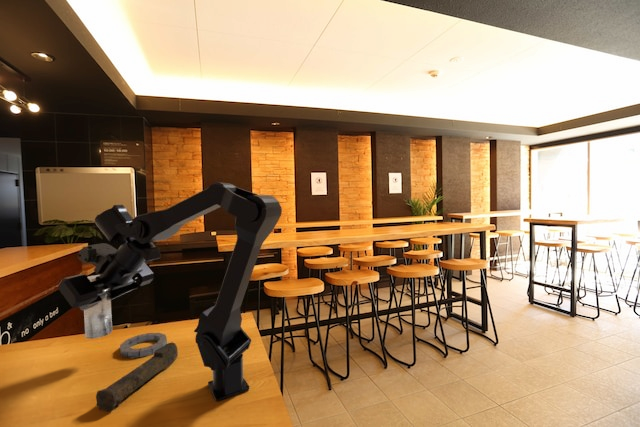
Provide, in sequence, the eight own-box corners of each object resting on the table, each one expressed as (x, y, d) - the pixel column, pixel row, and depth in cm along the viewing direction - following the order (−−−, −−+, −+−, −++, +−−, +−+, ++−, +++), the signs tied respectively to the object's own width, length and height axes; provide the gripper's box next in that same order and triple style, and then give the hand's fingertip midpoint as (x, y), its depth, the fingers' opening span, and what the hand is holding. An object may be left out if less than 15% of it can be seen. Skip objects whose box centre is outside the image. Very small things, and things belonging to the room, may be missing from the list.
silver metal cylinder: (112, 334, 69) (109, 277, 69) (84, 340, 67) (81, 281, 66) (112, 327, 74) (109, 273, 73) (86, 332, 71) (83, 276, 70)
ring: (169, 350, 76) (168, 344, 76) (120, 362, 70) (120, 356, 70) (163, 334, 84) (163, 329, 84) (120, 344, 79) (119, 339, 78)
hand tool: (112, 415, 54) (111, 389, 53) (94, 411, 55) (93, 385, 54) (187, 360, 72) (186, 340, 72) (172, 357, 73) (172, 338, 73)
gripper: (142, 227, 77) (110, 269, 80) (61, 237, 59) (25, 290, 62) (169, 260, 75) (135, 301, 79) (94, 281, 57) (55, 332, 61)
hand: (93, 304), depth 70 cm, fingers closed on silver metal cylinder, 5 cm apart
